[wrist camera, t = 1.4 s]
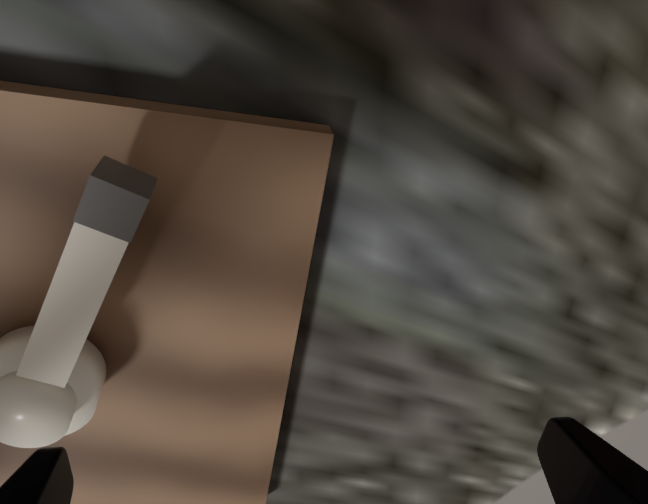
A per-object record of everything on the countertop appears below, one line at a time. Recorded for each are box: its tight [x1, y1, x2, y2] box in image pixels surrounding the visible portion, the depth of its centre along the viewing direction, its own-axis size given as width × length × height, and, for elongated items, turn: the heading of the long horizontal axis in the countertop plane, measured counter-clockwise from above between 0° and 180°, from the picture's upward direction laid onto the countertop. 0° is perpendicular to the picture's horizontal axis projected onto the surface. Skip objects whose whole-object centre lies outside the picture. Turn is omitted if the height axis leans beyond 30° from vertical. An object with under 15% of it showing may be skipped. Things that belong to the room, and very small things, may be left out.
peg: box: [0, 155, 158, 448], centre depth 18 cm, size 12×4×3 cm, turn 150°
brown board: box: [0, 81, 334, 504], centre depth 21 cm, size 22×20×1 cm
